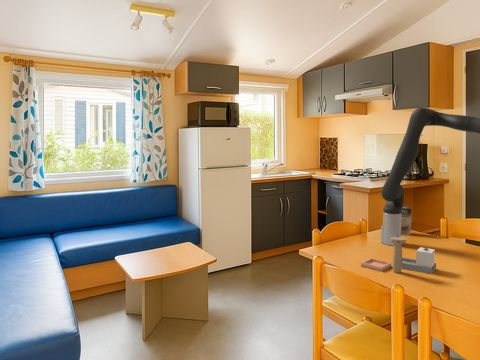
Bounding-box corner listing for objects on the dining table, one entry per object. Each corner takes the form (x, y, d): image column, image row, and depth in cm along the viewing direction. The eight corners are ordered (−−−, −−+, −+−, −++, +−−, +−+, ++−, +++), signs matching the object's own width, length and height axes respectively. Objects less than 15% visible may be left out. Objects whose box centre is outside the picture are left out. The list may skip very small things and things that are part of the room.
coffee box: (394, 234, 233) (394, 207, 231) (394, 231, 239) (395, 205, 237) (410, 235, 229) (411, 208, 227) (410, 232, 235) (411, 206, 233)
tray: (361, 266, 178) (361, 262, 177) (370, 261, 184) (370, 257, 184) (381, 271, 170) (381, 267, 170) (391, 266, 176) (391, 262, 176)
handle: (388, 269, 173) (389, 236, 171) (404, 270, 171) (405, 237, 169) (389, 273, 168) (390, 239, 166) (405, 274, 166) (406, 240, 165)
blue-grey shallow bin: (396, 267, 175) (396, 261, 175) (401, 262, 182) (402, 257, 181) (431, 273, 166) (431, 268, 166) (435, 268, 173) (435, 263, 172)
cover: (415, 266, 171) (416, 249, 170) (419, 262, 176) (420, 245, 175) (430, 268, 167) (431, 251, 166) (434, 264, 172) (434, 247, 171)
